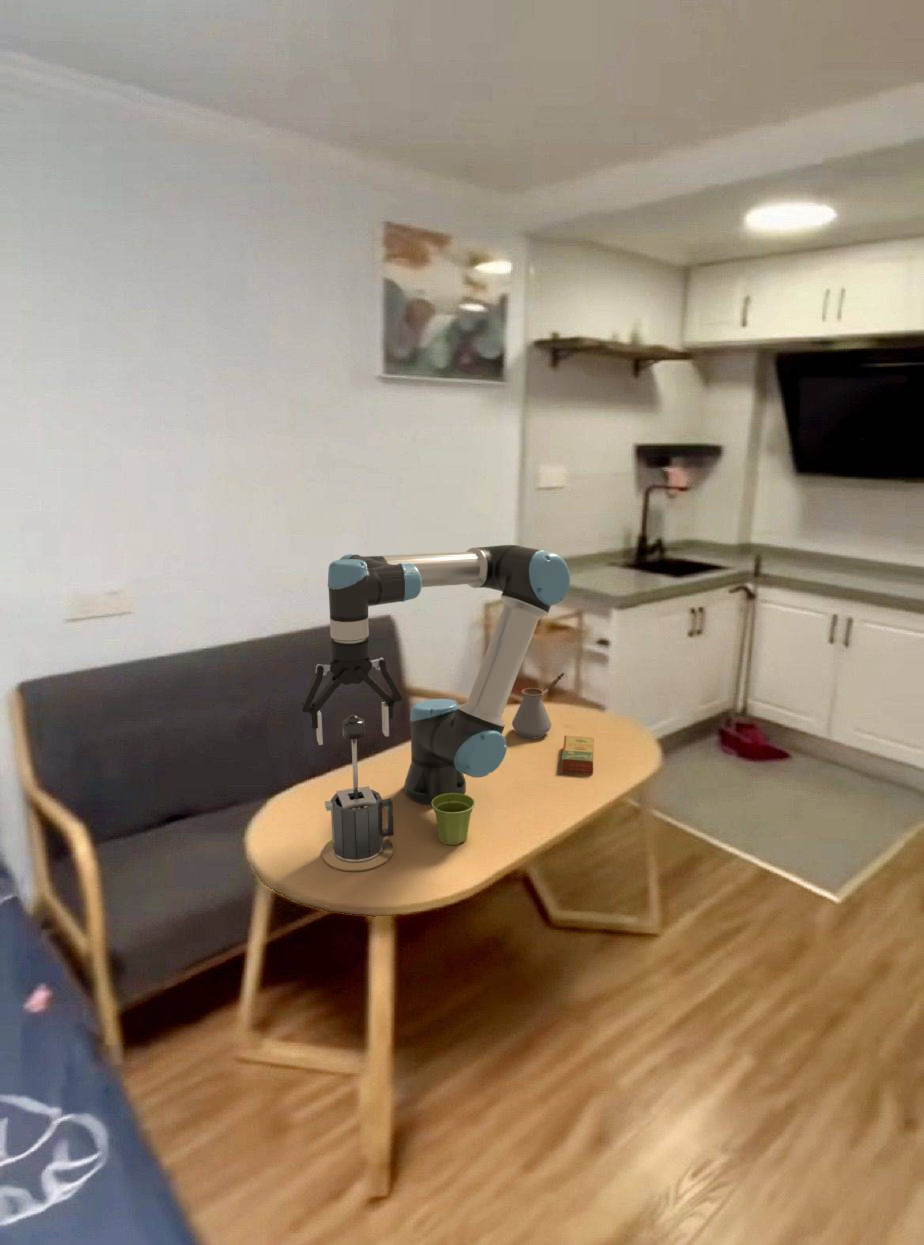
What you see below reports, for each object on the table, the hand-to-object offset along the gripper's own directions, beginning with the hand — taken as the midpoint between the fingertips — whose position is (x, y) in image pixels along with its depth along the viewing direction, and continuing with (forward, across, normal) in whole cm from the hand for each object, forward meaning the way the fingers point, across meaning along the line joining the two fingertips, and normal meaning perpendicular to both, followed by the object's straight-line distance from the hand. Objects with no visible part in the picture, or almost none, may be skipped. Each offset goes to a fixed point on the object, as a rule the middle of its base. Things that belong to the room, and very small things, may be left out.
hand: (353, 738), depth 162 cm
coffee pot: (+26, -66, -50) cm, 87 cm away
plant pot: (+26, -21, +1) cm, 34 cm away
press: (+26, 0, 0) cm, 26 cm away
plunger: (+16, 0, 0) cm, 16 cm away
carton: (+26, -66, -26) cm, 76 cm away
